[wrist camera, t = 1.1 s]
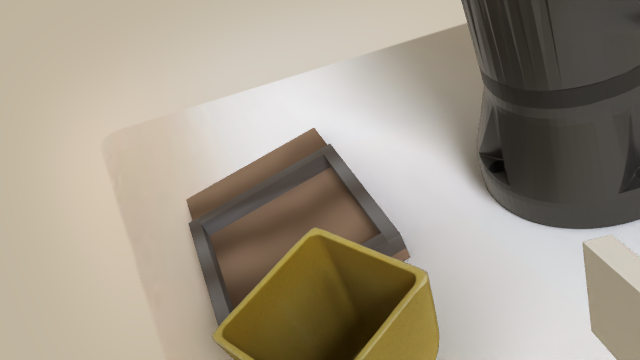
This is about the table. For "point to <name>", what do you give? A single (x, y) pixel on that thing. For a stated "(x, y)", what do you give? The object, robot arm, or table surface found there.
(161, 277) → the table surface
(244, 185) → the tray
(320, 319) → the flower pot
